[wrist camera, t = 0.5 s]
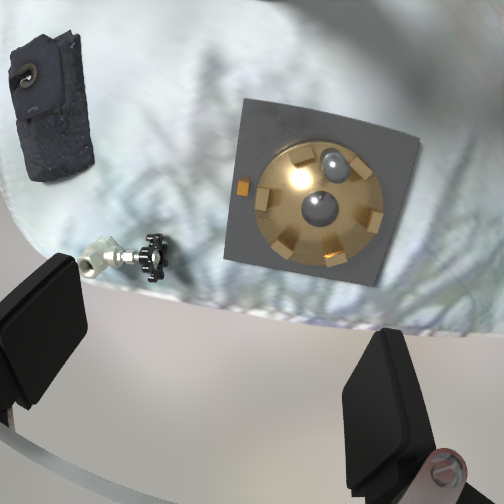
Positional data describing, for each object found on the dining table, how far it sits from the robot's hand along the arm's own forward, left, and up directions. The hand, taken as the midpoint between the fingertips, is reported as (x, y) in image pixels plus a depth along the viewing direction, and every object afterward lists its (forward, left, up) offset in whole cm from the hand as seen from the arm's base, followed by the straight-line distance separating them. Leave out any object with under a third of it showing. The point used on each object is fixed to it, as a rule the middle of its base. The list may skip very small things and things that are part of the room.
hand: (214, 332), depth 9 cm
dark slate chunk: (-3, -33, -31) cm, 45 cm away
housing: (+5, +6, -30) cm, 31 cm away
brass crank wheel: (+5, +6, -28) cm, 29 cm away
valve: (+17, -18, -30) cm, 39 cm away
